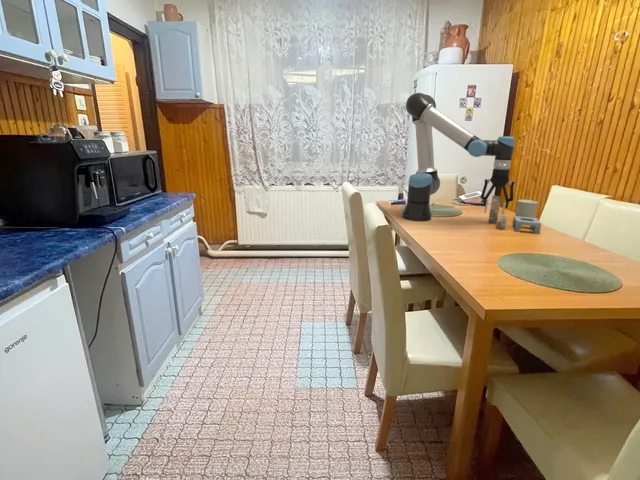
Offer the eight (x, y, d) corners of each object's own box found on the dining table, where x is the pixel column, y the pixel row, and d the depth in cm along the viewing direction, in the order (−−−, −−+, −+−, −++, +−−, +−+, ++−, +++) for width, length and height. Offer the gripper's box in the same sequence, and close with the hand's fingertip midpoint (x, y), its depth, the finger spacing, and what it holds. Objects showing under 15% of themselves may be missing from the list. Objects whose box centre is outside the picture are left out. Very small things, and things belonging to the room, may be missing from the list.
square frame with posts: (515, 231, 166) (517, 221, 164) (512, 225, 177) (513, 216, 175) (539, 233, 162) (541, 223, 161) (534, 227, 173) (536, 218, 172)
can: (537, 225, 178) (542, 202, 175) (519, 224, 178) (523, 201, 175) (527, 220, 187) (531, 198, 183) (510, 220, 187) (514, 198, 184)
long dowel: (488, 223, 180) (492, 196, 176) (487, 221, 184) (492, 195, 180) (496, 224, 179) (501, 197, 175) (496, 222, 183) (500, 196, 178)
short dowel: (496, 229, 170) (498, 217, 168) (495, 227, 173) (497, 215, 171) (505, 229, 168) (507, 217, 166) (504, 228, 172) (506, 216, 170)
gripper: (479, 168, 174) (472, 212, 180) (525, 170, 166) (517, 216, 173) (478, 166, 180) (472, 210, 187) (523, 169, 173) (515, 213, 180)
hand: (493, 213), depth 180 cm, fingers open, 8 cm apart
